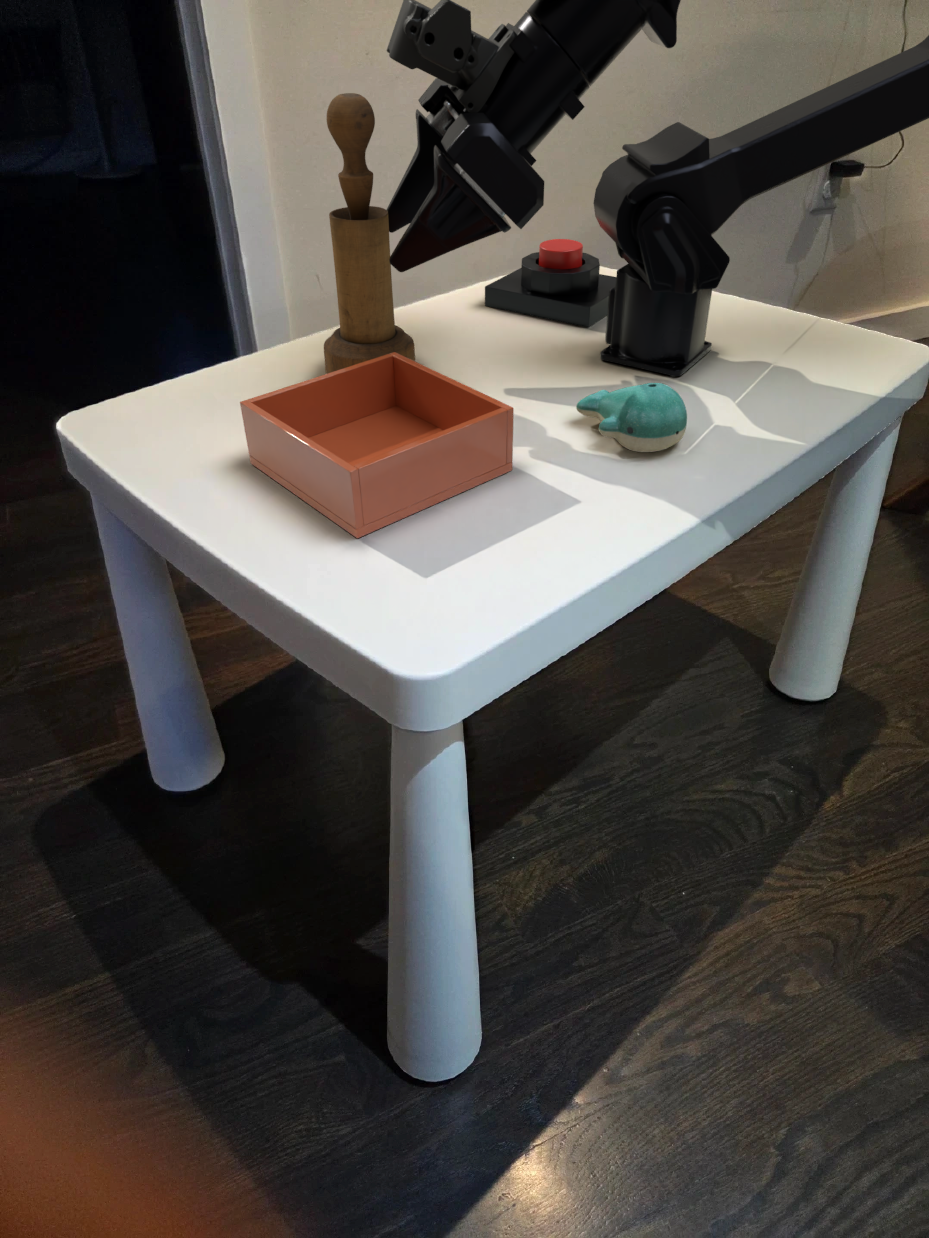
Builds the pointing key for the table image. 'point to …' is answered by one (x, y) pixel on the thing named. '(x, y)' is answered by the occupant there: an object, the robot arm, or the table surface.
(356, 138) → the mortar and pestle
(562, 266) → the button
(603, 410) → the whale figurine
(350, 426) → the orange square tray
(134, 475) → the table surface
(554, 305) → the control block
